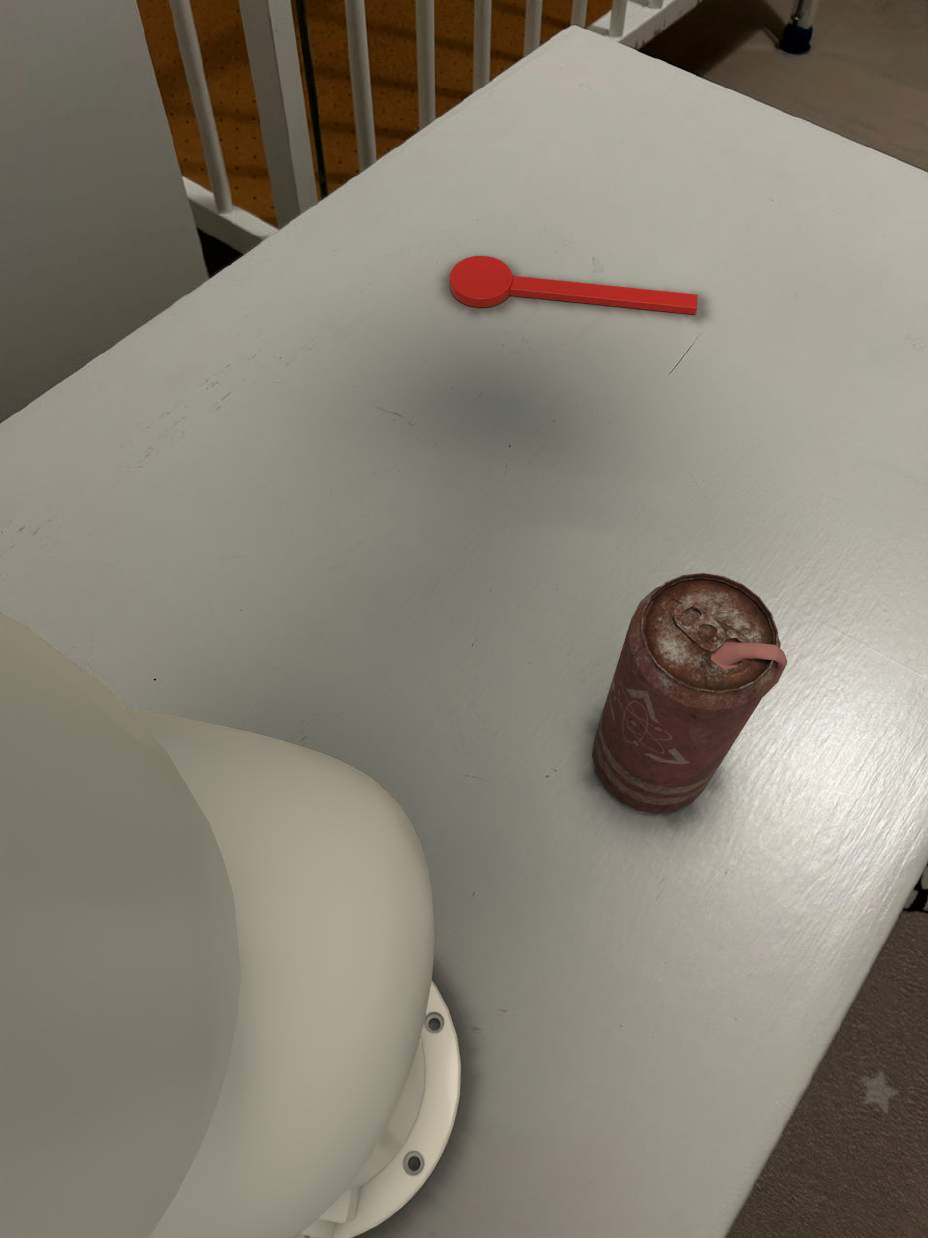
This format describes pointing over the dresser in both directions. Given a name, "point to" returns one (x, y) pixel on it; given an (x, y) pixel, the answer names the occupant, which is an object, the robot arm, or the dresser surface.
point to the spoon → (553, 289)
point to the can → (684, 690)
